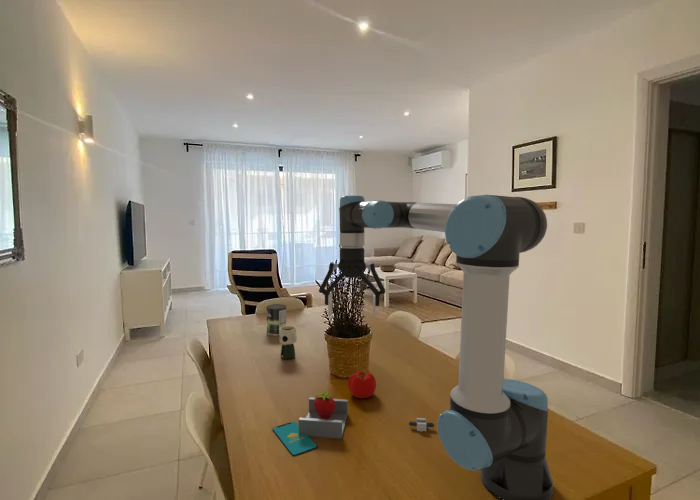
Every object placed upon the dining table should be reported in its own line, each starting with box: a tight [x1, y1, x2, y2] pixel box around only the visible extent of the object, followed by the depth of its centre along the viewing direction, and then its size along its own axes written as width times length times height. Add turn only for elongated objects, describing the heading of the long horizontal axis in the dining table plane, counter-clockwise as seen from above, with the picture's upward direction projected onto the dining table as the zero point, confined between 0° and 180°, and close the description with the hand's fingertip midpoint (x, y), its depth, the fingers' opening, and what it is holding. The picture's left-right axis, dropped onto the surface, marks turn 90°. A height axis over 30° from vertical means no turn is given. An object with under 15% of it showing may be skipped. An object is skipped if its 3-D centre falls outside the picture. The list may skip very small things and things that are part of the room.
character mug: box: [278, 325, 298, 360], centre depth 166 cm, size 11×7×13 cm, turn 49°
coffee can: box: [266, 303, 287, 337], centre depth 201 cm, size 10×10×14 cm
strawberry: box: [314, 389, 336, 419], centre depth 112 cm, size 6×8×10 cm
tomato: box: [347, 370, 377, 399], centre depth 131 cm, size 9×9×8 cm
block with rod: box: [408, 417, 435, 432], centre depth 111 cm, size 3×7×2 cm, turn 83°
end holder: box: [298, 396, 349, 440], centre depth 112 cm, size 13×12×5 cm
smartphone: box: [272, 421, 318, 457], centre depth 106 cm, size 7×1×15 cm
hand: (352, 316), depth 118 cm, fingers open, 13 cm apart
